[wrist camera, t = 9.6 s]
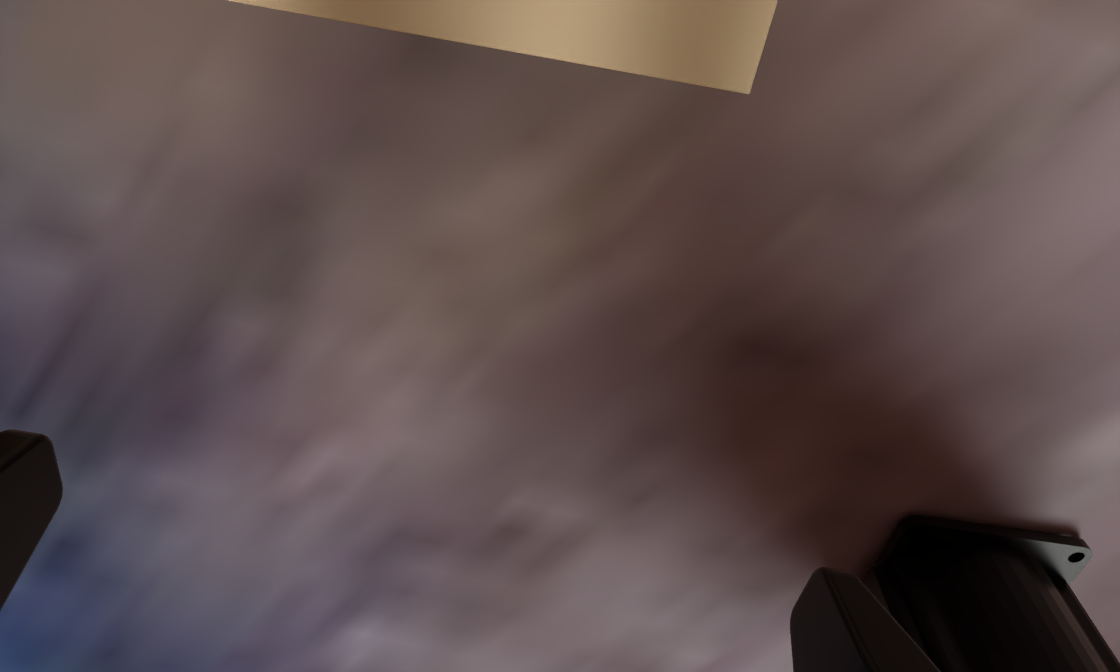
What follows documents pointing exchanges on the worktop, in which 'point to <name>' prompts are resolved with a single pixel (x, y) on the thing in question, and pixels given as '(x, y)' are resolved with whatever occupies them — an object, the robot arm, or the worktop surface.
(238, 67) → the worktop surface
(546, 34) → the birch plinth
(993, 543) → the robot arm
